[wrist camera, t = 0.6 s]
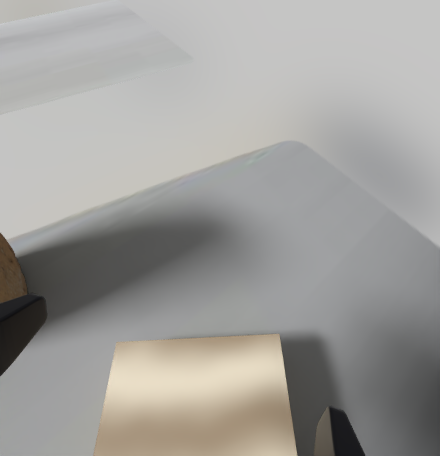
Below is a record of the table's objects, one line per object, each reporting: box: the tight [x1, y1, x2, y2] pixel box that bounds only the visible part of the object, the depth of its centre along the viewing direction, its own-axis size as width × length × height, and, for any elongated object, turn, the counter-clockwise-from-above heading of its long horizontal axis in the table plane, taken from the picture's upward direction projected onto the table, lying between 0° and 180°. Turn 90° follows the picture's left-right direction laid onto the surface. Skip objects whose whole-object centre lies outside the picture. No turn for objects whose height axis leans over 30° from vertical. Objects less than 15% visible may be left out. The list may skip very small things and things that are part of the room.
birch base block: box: [93, 334, 297, 456], centre depth 20 cm, size 12×12×4 cm
